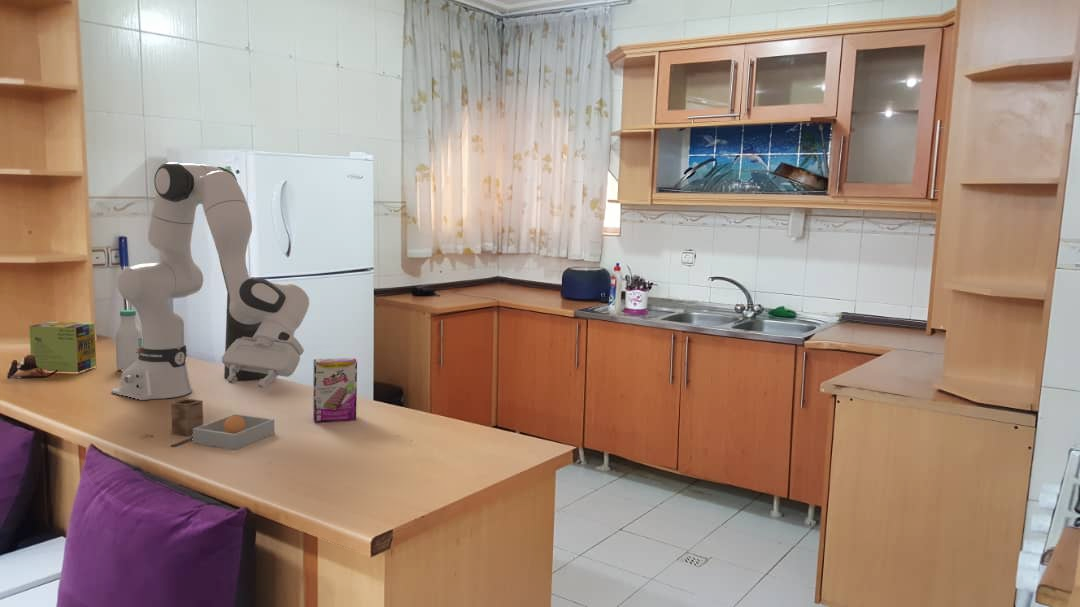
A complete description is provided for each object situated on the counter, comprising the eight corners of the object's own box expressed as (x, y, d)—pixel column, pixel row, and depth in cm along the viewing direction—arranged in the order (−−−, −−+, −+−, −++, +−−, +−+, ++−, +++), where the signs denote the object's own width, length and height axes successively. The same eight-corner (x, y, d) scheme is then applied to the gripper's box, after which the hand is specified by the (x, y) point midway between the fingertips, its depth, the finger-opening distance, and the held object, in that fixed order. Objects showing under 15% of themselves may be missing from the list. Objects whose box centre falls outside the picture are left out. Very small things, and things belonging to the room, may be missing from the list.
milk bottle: (135, 372, 250) (133, 312, 247) (111, 371, 250) (109, 311, 247) (147, 367, 257) (145, 309, 255) (125, 366, 257) (122, 308, 255)
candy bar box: (314, 423, 200) (313, 362, 198) (312, 418, 204) (312, 358, 202) (357, 420, 204) (357, 360, 202) (355, 415, 208) (355, 357, 206)
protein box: (78, 374, 244) (76, 327, 242) (30, 373, 244) (28, 325, 242) (97, 367, 255) (95, 322, 253) (51, 366, 255) (49, 320, 253)
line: (170, 446, 178) (170, 445, 178) (236, 422, 199) (236, 420, 199) (174, 446, 178) (174, 445, 178) (239, 422, 198) (239, 421, 198)
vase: (247, 370, 258) (245, 285, 255) (277, 374, 253) (276, 288, 249) (214, 377, 246) (212, 289, 242) (246, 383, 240) (244, 292, 237)
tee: (172, 433, 187) (171, 403, 186) (187, 428, 192) (186, 398, 191) (188, 436, 186) (187, 405, 185) (203, 430, 190) (202, 400, 189)
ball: (218, 437, 184) (218, 417, 183) (233, 431, 188) (233, 412, 188) (235, 440, 182) (235, 420, 182) (249, 434, 187) (250, 415, 186)
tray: (193, 443, 181) (192, 428, 180) (234, 427, 194) (234, 413, 194) (234, 449, 177) (234, 435, 176) (274, 433, 190) (274, 419, 190)
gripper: (232, 328, 197) (205, 372, 189) (298, 336, 191) (273, 382, 183) (244, 342, 202) (218, 386, 194) (309, 351, 196) (285, 396, 188)
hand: (245, 384), depth 189 cm, fingers open, 8 cm apart
